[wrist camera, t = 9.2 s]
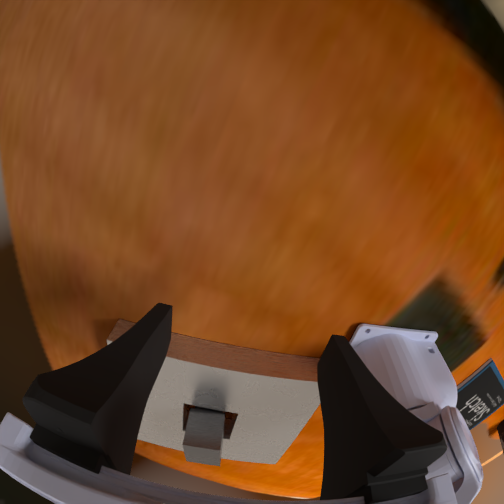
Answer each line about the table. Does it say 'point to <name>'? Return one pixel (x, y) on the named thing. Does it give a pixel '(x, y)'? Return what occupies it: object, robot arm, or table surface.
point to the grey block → (204, 436)
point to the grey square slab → (230, 395)
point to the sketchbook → (480, 394)
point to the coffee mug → (501, 433)
